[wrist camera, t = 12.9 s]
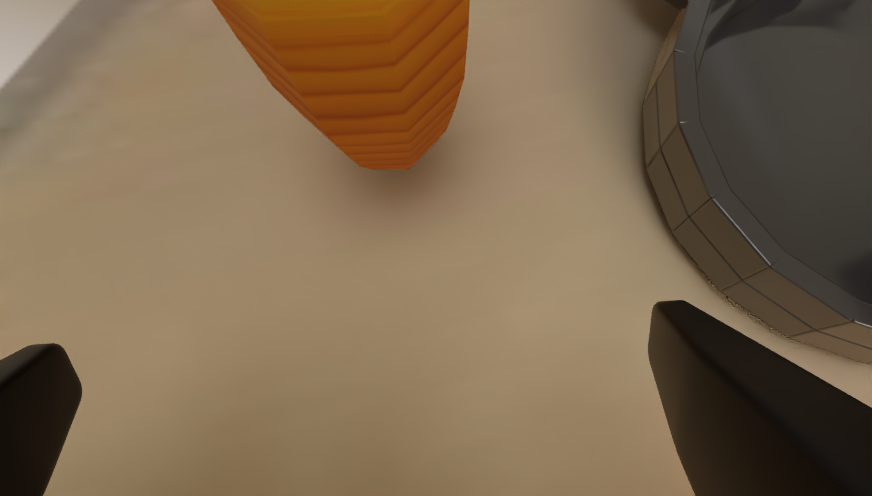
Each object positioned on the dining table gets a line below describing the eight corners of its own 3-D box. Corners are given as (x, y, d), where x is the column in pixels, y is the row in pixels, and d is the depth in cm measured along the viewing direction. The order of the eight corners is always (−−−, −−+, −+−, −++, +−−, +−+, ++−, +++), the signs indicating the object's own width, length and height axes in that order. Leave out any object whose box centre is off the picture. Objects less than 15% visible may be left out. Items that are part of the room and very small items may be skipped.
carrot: (438, 67, 20) (360, -770, 6) (500, 192, 19) (596, -489, 5) (302, 123, 20) (-126, -611, 6) (356, 254, 19) (-18, -264, 4)
